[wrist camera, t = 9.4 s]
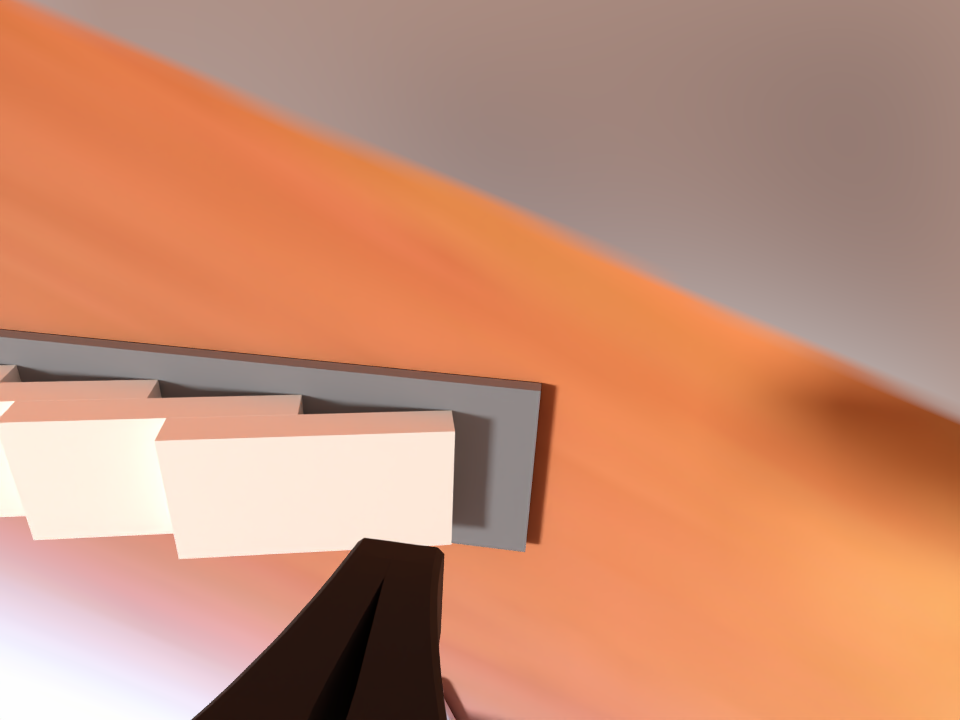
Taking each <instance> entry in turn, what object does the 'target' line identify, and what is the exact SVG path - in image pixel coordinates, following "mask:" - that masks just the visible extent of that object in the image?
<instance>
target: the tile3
mask: <svg viewBox="0 0 960 720" xmlns="http://www.w3.org/2000/svg"><path fill="white" fill-rule="evenodd" d="M140 398H162V397H161V392H160V387H159V382H158V380H110V381H57V382H4V383H0V417H1V416H2V415H3V414H4V413H5V411H6V410H7V409H8V408H9V407H10V406H11V405H12V404H13V403H14V402H15V401H56V400H98V399H140ZM13 516H26V515H25V512H24V509H23V506H22V503H21V500H20V497H19V494H18V491H17V488H16V485H15V482H14V479H13V476H12V473H11V470H10V467H9V464H8V461H7V458H6V455H5V452H4V449H3V445H2V442H1V439H0V517H13Z"/></svg>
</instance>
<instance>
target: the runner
mask: <svg viewBox="0 0 960 720" xmlns="http://www.w3.org/2000/svg"><path fill="white" fill-rule="evenodd" d="M0 365H16V366H17V369H18V372H19V376H20V379H21V382H57V381H110V380H158V382H159V387H160V392H161V397H162V398H182V397H224V396H266V395H302V403H303V414H336V413H372V412H409V411H445V410H452V416H453V422H454V428H455V448H454V479H453V510H452V541H451V543H456V544H464V545H473V546H481V547H489V548H497V549H505V550H513V551H522V552H525V548H526V538H527V528H528V518H529V507H530V497H531V487H532V476H533V466H534V456H535V445H536V435H537V425H538V415H539V404H540V394H541V384H542V383H534V382H523V381H513V380H503V379H493V378H483V377H473V376H463V375H453V374H443V373H433V372H423V371H413V370H403V369H393V368H383V367H373V366H363V365H353V364H343V363H333V362H322V361H312V360H302V359H292V358H282V357H272V356H262V355H252V354H242V353H232V352H222V351H212V350H202V349H192V348H182V347H172V346H162V345H152V344H142V343H132V342H122V341H111V340H101V339H91V338H81V337H71V336H61V335H51V334H41V333H31V332H21V331H11V330H1V329H0Z"/></svg>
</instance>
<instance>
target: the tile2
mask: <svg viewBox="0 0 960 720" xmlns="http://www.w3.org/2000/svg"><path fill="white" fill-rule="evenodd" d="M300 414H303V403H302V395H266V396H224V397H182V398H140V399H98V400H56V401H15V402H14V403H13V404H12V405H11V406H10V407H9V408H8V409H7V410H6V411H5V413H4V414H3V415H2V416H1V417H0V439H1V442H2V445H3V449H4V452H5V455H6V458H7V461H8V464H9V467H10V470H11V473H12V476H13V479H14V482H15V485H16V488H17V491H18V494H19V497H20V500H21V503H22V506H23V509H24V512H25V515H26V518H27V521H28V524H29V527H30V530H31V533H32V536H33V539H34V540H46V539H67V538H88V537H109V536H129V535H150V534H171V533H173V528H172V523H171V518H170V514H169V509H168V504H167V499H166V494H165V490H164V485H163V480H162V475H161V470H160V466H159V461H158V456H157V451H156V446H155V442H154V441H155V439H156V437H157V435H158V433H159V431H160V429H161V427H162V425H163V423H164V422H165V420H166V418H191V417H227V416H264V415H300Z"/></svg>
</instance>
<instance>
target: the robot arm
mask: <svg viewBox="0 0 960 720" xmlns="http://www.w3.org/2000/svg"><path fill="white" fill-rule="evenodd" d="M443 571H444V553H443V552H442V551H441V550H440V549H439V548H437V547H430V546H423V545H415V544H408V543H401V542H393V541H386V540H379V539H371V538H363V539H362V540H360V541H359V542H357V544H356V545H355V546H354V548H353V549H352V550H351V552H350V553H349V554H348V556H347V557H346V558H345V559H344V561H343V562H342V563H341V565H340V566H339V567H338V568H337V570H336V571H335V572H334V573H333V574H332V576H331V577H330V578H329V579H328V581H327V582H326V583H325V584H324V585H323V586H322V588H321V589H320V590H319V591H318V592H317V594H316V595H315V596H314V597H313V598H312V599H311V601H310V602H309V603H308V604H307V605H306V606H305V607H304V608H303V609H302V611H301V612H300V613H299V614H298V615H297V616H296V617H295V618H294V619H293V621H292V622H291V623H290V624H289V625H288V626H287V627H286V628H285V629H284V630H283V632H282V633H281V634H280V635H279V636H278V637H277V638H276V639H275V640H274V641H273V642H272V643H271V644H270V645H269V646H268V647H267V648H266V649H265V650H264V651H263V652H262V653H261V654H260V655H259V656H258V657H257V658H256V659H255V660H254V661H253V662H252V663H251V664H250V665H249V666H248V667H247V668H246V669H245V670H244V671H243V672H242V673H241V674H240V675H239V676H238V677H237V678H236V679H235V680H234V681H233V682H232V683H231V684H230V685H229V686H228V687H227V688H226V689H225V690H224V691H223V692H222V693H220V694H219V695H218V696H217V697H216V698H215V699H214V700H213V701H212V702H211V703H210V704H209V705H207V706H206V707H205V708H204V709H203V710H202V711H201V712H200V713H199V714H197V715H196V716H195V717H194V718H193V719H192V720H455V718H454V716H453V714H452V712H451V710H450V708H449V706H448V705H447V703H446V701H445V699H444V694H443V686H442V678H441V668H440V656H439V640H440V634H441V614H442V592H443Z"/></svg>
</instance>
